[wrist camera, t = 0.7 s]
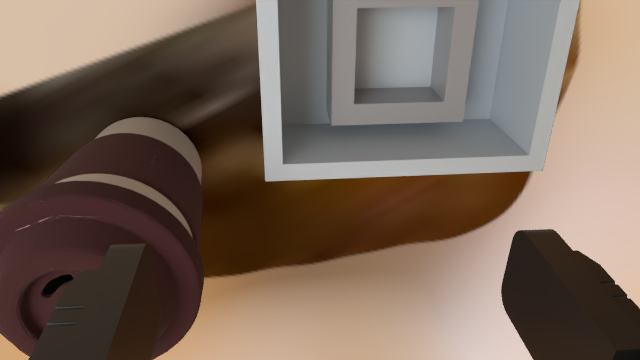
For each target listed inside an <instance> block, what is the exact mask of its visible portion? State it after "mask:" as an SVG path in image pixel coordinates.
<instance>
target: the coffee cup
mask: <svg viewBox="0 0 640 360" xmlns="http://www.w3.org/2000/svg"><path fill="white" fill-rule="evenodd" d="M201 178H202V166H201V161H200V157H199V154H198V152H197V150H196V148H195V146H194V145H193V143H192V142H191V141H190V140H189V138H188V137H187V136H186V135H185V134H184V133H182V132H181V131H180V130H179V129H178V128H176V127H174V126H173V125H171V124H169V123H167V122H164V121H162V120H158V119H154V118H149V117H133V118H127V119H123V120H120V121H118V122H115V123H113V124H112V125H110V126H108V127H107V128H105V129H104V130H103V131H102V132H101V133H100V134H99V135H98V136H97V137H96V138H95V139H94V140H92V141H90V142H88V143H87V144H85V145H84V146H82V147H81V148H79V149H78V150H77V151H76V152H75V153H74V154H73V155H72V156H71V157H70V158H69V159H68V160H67V161H66V162H65V163H64V164H62V165H61V166H60V167H59V168H58V169H57V170H56V171H55V172H54V173H53V174H52V175H51V176H50V177H49V178H48V179H47V180H46V181H45V182H44V183H43V184H42V185H40V186H39V187H38V188H37V189H35V190H32V191H30V192H28V193H26V194H24V195H22V196H21V197H19V198H17V199H16V200H14V201H13V202H12V203H10V204H9V205H8V206H7V207H6V208H5V209H3V210H2V211H1V212H0V333H1V334H2V335H3V336H4V337H5V338H6V339H8V340H9V341H10V342H11V343H13V344H14V345H15V346H16V347H17V348H18V349H19V350H20V351H22V352H23V353H25V354H26V355H28V356H31V354H32V352H33V350H34V348H35V346H36V344H37V342H38V340H39V338H40V336H41V334H42V332H43V330H44V328H45V327H47V322H48V320H49V318H50V316H51V314H52V312H53V310H55V309H56V307H55V306H56V304H57V302H58V300H59V298H60V296H61V295H62V293H63V291H64V289H65V287H66V286H67V285H68V284H69V283H70V282H71V281H73V280H74V279H75V278H76V277H77V276H78V275H79V274H80V273H81V272H83V271H84V270H96V269H100V267H101V265H102V262H103V260H104V258H105V256H106V253H107V251H108V249H109V247H110V246H111V245H119V244H146V243H148V244H149V245H150V247H151V251H152V257H153V263H154V269H155V275H156V281H157V287H158V293H159V300H160V322H159V329H158V333H157V337H156V342H155V346H154V350H153V354H152V358H151V360H153V359H155V358H156V357H158V356H160V355H162V354H164V353H165V352H167V351H168V350H169V349H171V348H172V347H173V346H175V345H176V344H177V343H178V342H179V341H180V340H181V339H182V338H183V337H184V336H185V335H186V333H187V332H188V331H189V329H190V328H191V326H192V325H193V323H194V321H195V319H196V317H197V314H198V310H199V307H200V302H201V296H202V290H203V284H204V271H203V265H202V259H201V256H200V253H199V243H200V231H201V218H202V205H203V195H202V189H201Z"/></svg>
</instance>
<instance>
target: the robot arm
mask: <svg viewBox="0 0 640 360" xmlns="http://www.w3.org/2000/svg"><path fill="white" fill-rule="evenodd" d="M501 290H502V291H501V293H502V301H503V305H504V308H505V311H506V313H507V315H508V316H509V318H510V320H511V322H512V323H513V325H514V327H515V329H516V330H517V332H518V334H519V335H520V337H521V339H522V341H523V342H524V344H525V346H526V348H527V349H528V351H529V353H530V354H531V356H532V358H533V359H534V360H640V309H639V307H638V306H637V305H636V304H635V303H634V302H633V301H632V300H631V299H628V298H627V294H626V293H625V292H624V291H623V290H622V289H621V288H620V286H618V285H615V281H614V280H613V279H612V278H611V277H610V275H608V273H607V272H606V271H605V270H604V269H603V268H602V267H601V265H600V264H598V263H596V262H595V261H593V260H592V259H590V258H589V257H587V256H585V255H584V254H582V253H581V252H579V251H573V250H572V249H571V248H570V247H569V246H568V245H567V244H566V243H565V241H564V240H563V239H562V238H561V237H560V235H559V234H558V233H557V232H556V231H554V230H550V229H547V230H521V231H517V232H516V233H515V235H514V237H513V240H512V244H511V248H510V253H509V257H508V261H507V265H506V270H505V273H504V278H503V282H502V289H501ZM55 307H56V309H55V310H53V312H52V314H51V316H50V318H49V320H48V322H47V327H45V328H44V330H43V332H42V334H41V336H40V338H39V340H38V342H37V344H36V346H35V348H34V350H33V352H32V354H31V356H30V358H29V360H151V358H152V354H153V350H154V346H155V342H156V337H157V333H158V329H159V322H160V300H159V293H158V287H157V281H156V275H155V269H154V263H153V257H152V251H151V247H150V245H149V244H148V243H146V244H119V245H111V246H110V247H109V249H108V251H107V253H106V256H105V258H104V260H103V262H102V265H101V267H100V269H96V270H84V271H83V272H81V273H80V274H79V275H78V276H77V277H76V278H75V279H74V280H73V281H71V282H70V283H69V284H68V285H67V286H66V287H65V289H64V291H63V293H62V295H61V296H60V298H59V300H58V302H57V304H56V306H55Z"/></svg>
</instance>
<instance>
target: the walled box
mask: <svg viewBox="0 0 640 360" xmlns="http://www.w3.org/2000/svg"><path fill="white" fill-rule="evenodd" d="M579 3H580V0H256V7H257V27H258V47H259V67H260V86H261V106H262V126H263V146H264V166H265V181H288V180H314V179H339V178H365V177H391V176H416V175H442V174H467V173H493V172H519V171H542V170H543V168H544V163H545V158H546V153H547V149H548V145H549V140H550V136H551V131H552V127H553V122H554V117H555V113H556V108H557V104H558V99H559V94H560V90H561V85H562V81H563V76H564V72H565V67H566V62H567V58H568V53H569V49H570V44H571V39H572V35H573V30H574V26H575V21H576V17H577V12H578V7H579Z"/></svg>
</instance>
